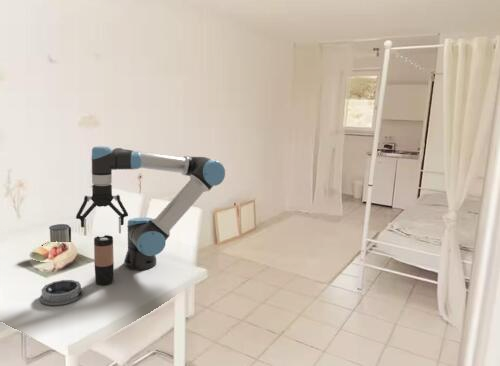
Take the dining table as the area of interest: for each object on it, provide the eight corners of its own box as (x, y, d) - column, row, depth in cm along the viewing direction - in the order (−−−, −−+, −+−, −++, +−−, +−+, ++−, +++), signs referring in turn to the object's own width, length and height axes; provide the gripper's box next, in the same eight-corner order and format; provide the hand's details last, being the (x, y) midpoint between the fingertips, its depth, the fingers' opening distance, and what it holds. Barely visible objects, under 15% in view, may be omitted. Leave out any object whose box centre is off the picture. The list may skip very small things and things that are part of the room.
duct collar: (87, 287, 156) (87, 279, 156) (75, 305, 142) (75, 296, 141) (49, 288, 155) (48, 279, 154) (33, 306, 140) (32, 296, 139)
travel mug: (107, 287, 158) (106, 241, 155) (91, 284, 160) (89, 239, 156) (117, 279, 166) (116, 236, 162) (101, 277, 167) (100, 234, 164)
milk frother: (68, 257, 188) (67, 228, 185) (33, 259, 183) (31, 230, 181) (73, 247, 201) (72, 220, 199) (40, 249, 197) (39, 221, 194)
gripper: (132, 182, 163) (132, 229, 167) (69, 183, 154) (70, 232, 157) (134, 185, 156) (134, 234, 160) (68, 186, 147) (69, 238, 150)
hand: (102, 233), depth 159 cm, fingers open, 13 cm apart
